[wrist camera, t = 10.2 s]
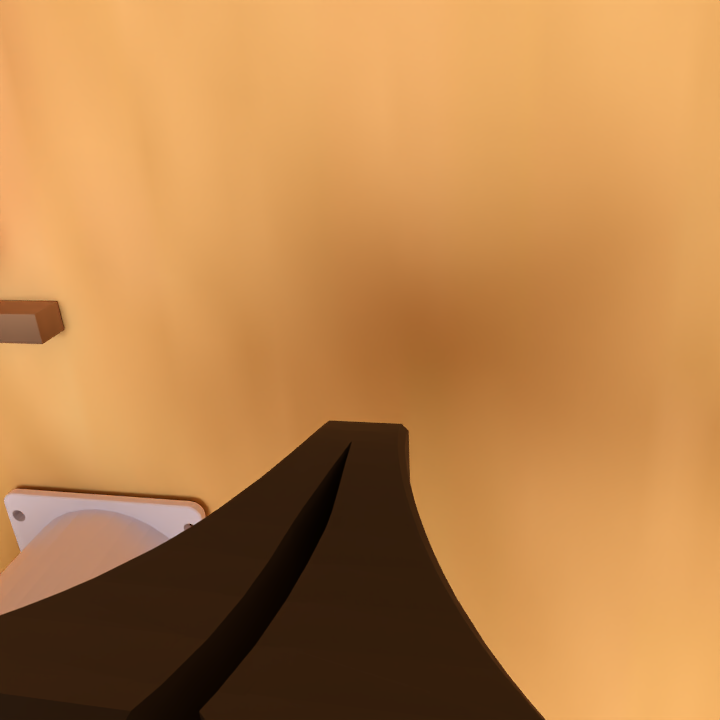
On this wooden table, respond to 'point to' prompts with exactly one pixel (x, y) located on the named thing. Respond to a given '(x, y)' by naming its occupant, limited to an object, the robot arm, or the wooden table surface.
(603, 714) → the wooden table surface
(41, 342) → the frame
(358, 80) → the wooden table surface
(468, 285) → the wooden table surface
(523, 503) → the wooden table surface
